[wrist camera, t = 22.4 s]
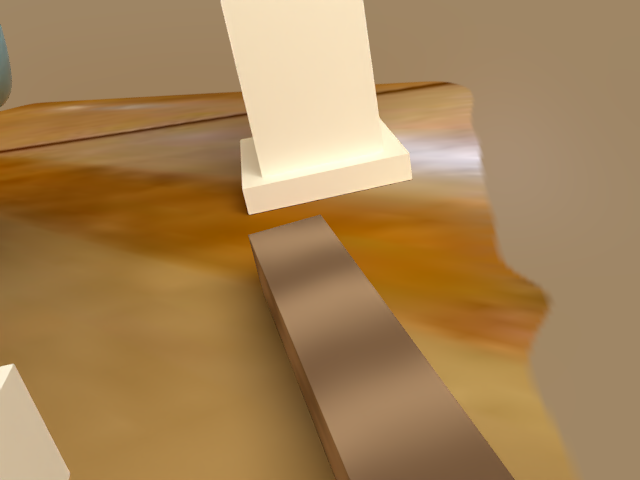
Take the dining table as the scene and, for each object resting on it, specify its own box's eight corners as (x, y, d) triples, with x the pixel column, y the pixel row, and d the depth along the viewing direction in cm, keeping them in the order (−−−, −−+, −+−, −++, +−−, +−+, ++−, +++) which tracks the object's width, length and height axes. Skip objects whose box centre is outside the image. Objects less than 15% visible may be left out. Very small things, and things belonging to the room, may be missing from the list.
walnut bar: (264, 298, 34) (248, 235, 32) (332, 278, 35) (320, 214, 33) (476, 846, 13) (463, 752, 11) (640, 768, 14) (651, 666, 12)
